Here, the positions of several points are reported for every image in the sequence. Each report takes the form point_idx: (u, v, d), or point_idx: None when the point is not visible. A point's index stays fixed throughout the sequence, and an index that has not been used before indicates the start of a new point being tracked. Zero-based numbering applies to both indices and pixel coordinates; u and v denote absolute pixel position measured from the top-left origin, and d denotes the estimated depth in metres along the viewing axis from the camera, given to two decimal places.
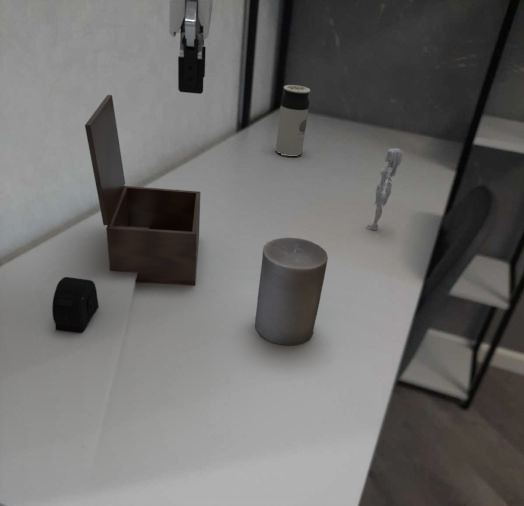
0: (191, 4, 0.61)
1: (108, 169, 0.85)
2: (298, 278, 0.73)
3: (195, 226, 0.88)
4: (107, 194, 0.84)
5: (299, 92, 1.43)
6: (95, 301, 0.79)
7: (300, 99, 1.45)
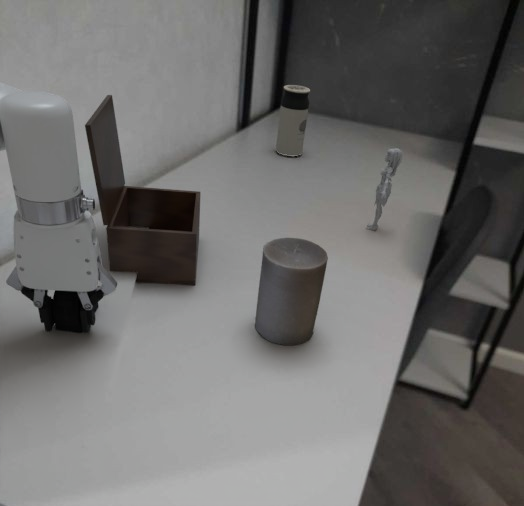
0: None
1: (108, 169, 0.85)
2: (298, 278, 0.73)
3: (195, 226, 0.88)
4: (107, 194, 0.84)
5: (299, 92, 1.43)
6: None
7: (300, 99, 1.45)
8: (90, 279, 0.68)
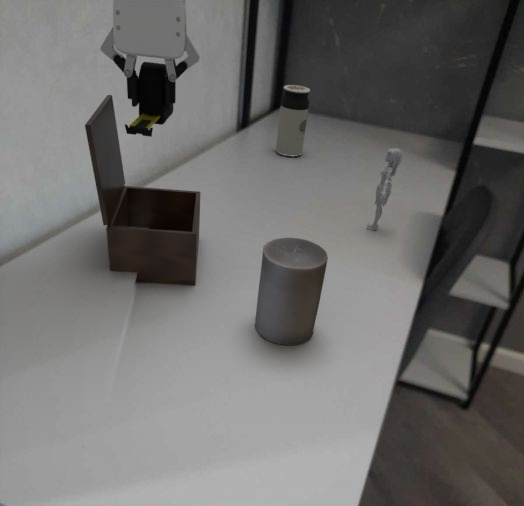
0: (112, 28, 0.74)
1: (108, 169, 0.85)
2: (298, 278, 0.73)
3: (195, 226, 0.88)
4: (107, 194, 0.84)
5: (299, 92, 1.43)
6: None
7: (300, 99, 1.45)
8: (178, 42, 0.74)
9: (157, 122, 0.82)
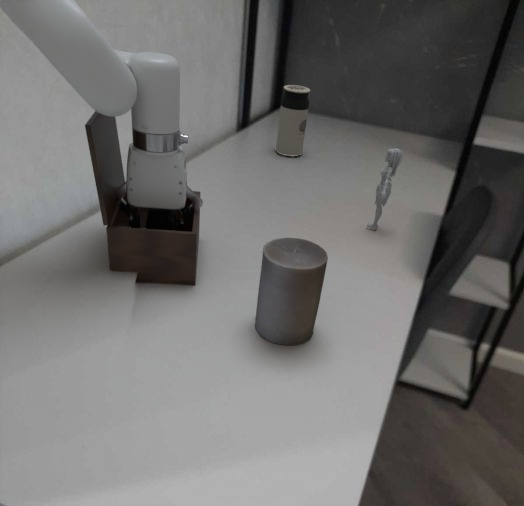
0: (123, 184, 0.89)
1: (108, 169, 0.85)
2: (298, 278, 0.73)
3: (195, 226, 0.88)
4: (107, 194, 0.84)
5: (299, 92, 1.43)
6: (174, 225, 1.00)
7: (300, 99, 1.45)
8: (180, 199, 0.89)
9: None
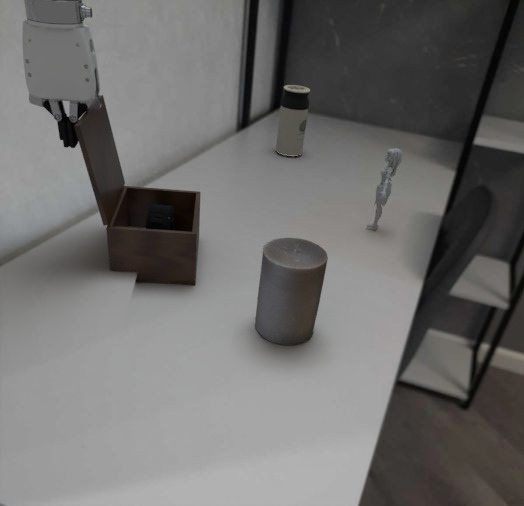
0: None
1: (104, 169, 0.85)
2: (298, 278, 0.73)
3: (195, 226, 0.88)
4: (105, 194, 0.84)
5: (299, 92, 1.43)
6: (174, 225, 1.00)
7: (300, 99, 1.45)
8: (89, 87, 0.78)
9: None
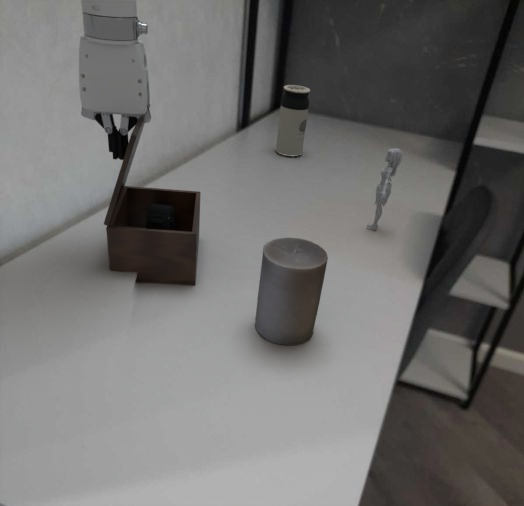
0: None
1: (126, 174, 0.86)
2: (298, 278, 0.73)
3: (195, 226, 0.88)
4: (118, 197, 0.84)
5: (299, 92, 1.43)
6: (174, 225, 1.00)
7: (300, 99, 1.45)
8: (141, 101, 0.80)
9: None
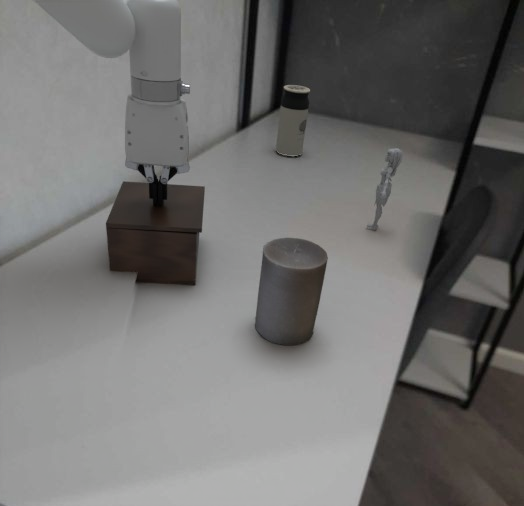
0: None
1: None
2: (298, 278, 0.73)
3: None
4: None
5: (299, 92, 1.43)
6: None
7: (300, 99, 1.45)
8: (182, 154, 0.85)
9: None
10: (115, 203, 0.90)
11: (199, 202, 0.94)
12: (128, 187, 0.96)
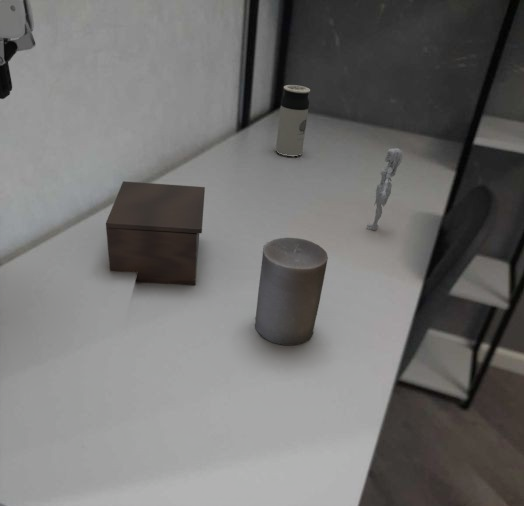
0: None
1: None
2: (298, 278, 0.73)
3: None
4: None
5: (299, 92, 1.43)
6: None
7: (300, 99, 1.45)
8: (15, 18, 0.62)
9: None
10: (115, 203, 0.90)
11: (199, 202, 0.94)
12: (128, 187, 0.96)
